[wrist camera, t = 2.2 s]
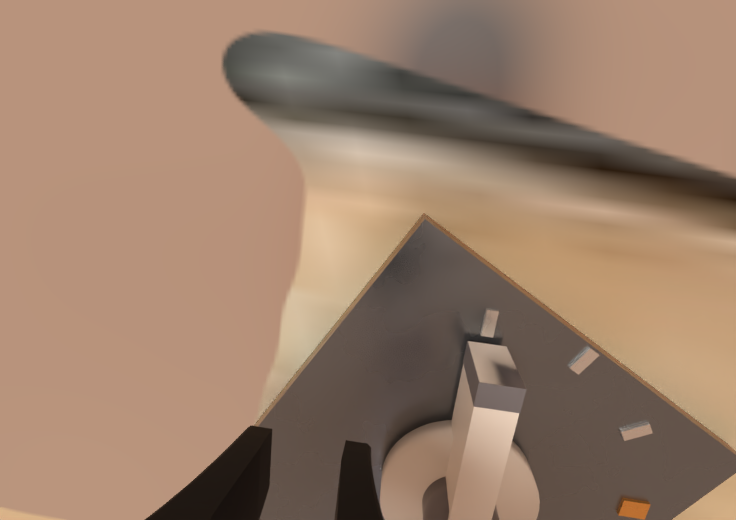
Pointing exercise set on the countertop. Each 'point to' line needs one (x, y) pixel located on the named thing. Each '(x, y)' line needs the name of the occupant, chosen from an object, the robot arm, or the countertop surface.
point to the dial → (466, 452)
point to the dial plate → (440, 386)
